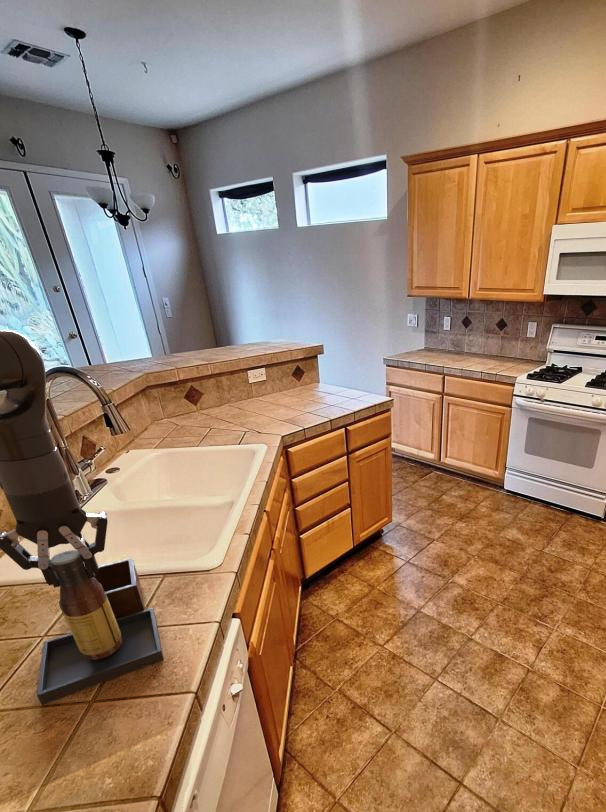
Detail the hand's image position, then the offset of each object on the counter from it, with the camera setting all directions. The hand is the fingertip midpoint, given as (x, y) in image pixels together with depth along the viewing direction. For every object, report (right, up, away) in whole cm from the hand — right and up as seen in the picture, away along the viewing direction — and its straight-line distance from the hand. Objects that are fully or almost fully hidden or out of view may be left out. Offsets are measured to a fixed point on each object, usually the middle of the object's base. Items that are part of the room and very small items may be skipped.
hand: (75, 579), depth 69 cm
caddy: (-6, -9, +19) cm, 22 cm away
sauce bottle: (0, -14, +7) cm, 15 cm away
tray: (0, -15, +7) cm, 17 cm away
